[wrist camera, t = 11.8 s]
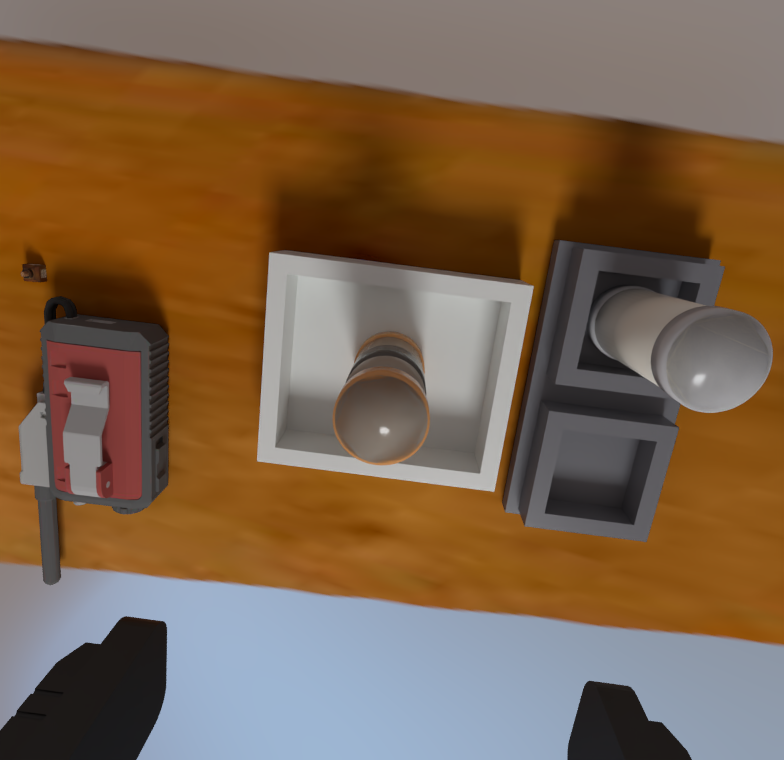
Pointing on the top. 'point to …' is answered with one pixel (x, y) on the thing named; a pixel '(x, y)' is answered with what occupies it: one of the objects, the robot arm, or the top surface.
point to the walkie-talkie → (96, 419)
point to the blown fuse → (383, 401)
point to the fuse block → (596, 400)
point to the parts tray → (403, 315)
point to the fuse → (683, 346)
